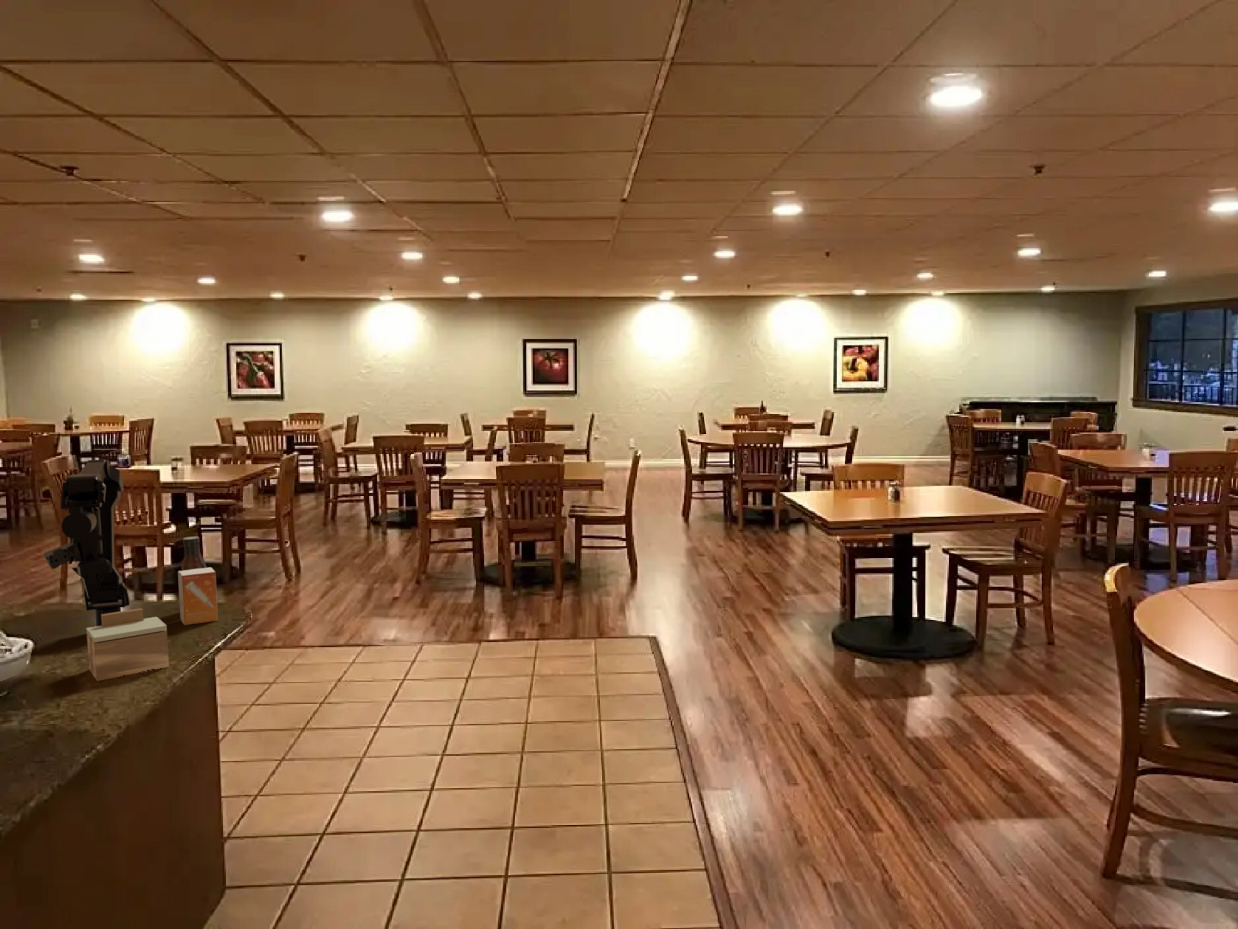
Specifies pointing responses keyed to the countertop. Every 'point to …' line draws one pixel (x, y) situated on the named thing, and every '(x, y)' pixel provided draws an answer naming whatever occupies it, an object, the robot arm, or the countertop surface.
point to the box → (128, 655)
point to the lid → (124, 625)
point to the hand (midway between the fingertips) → (91, 598)
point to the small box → (197, 595)
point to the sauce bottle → (192, 554)
